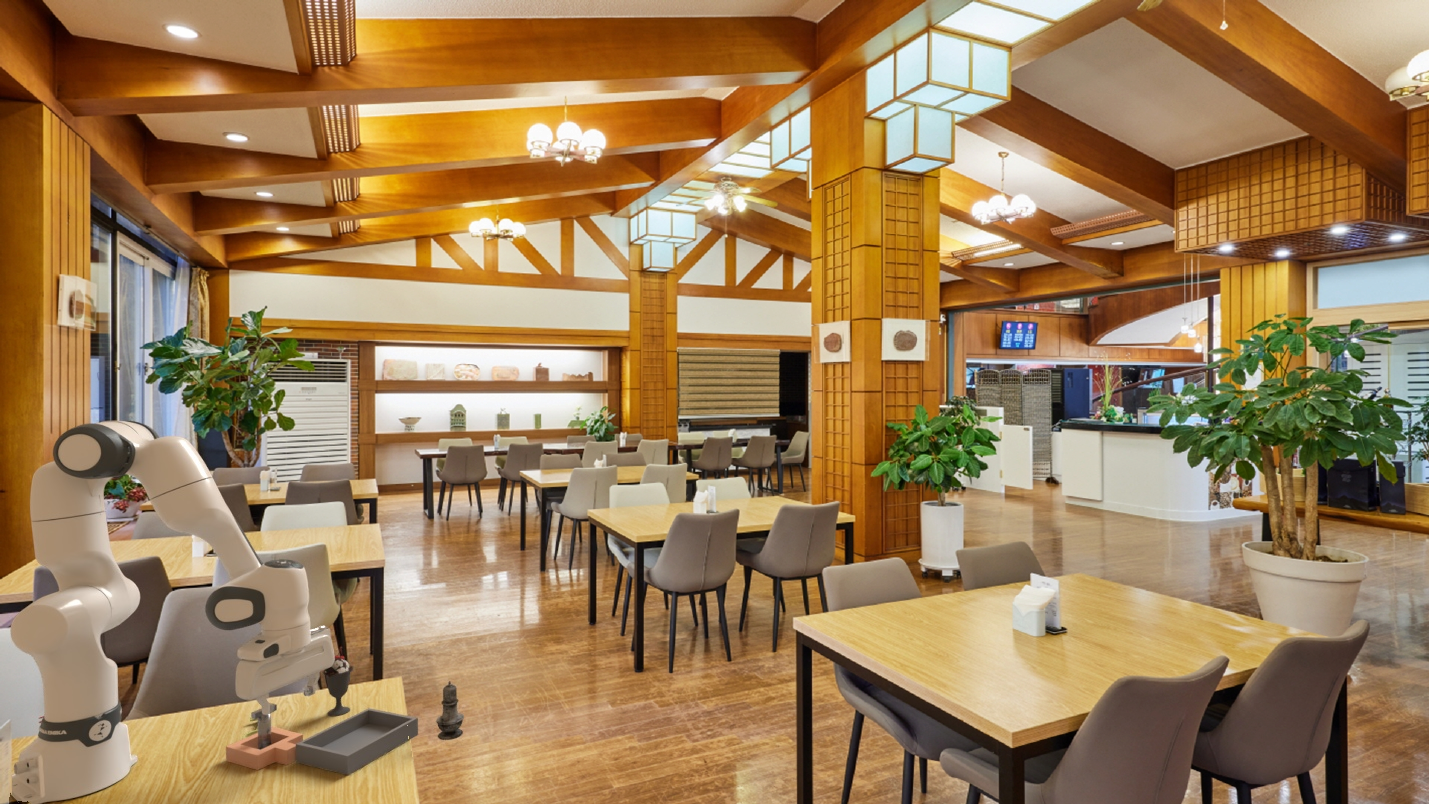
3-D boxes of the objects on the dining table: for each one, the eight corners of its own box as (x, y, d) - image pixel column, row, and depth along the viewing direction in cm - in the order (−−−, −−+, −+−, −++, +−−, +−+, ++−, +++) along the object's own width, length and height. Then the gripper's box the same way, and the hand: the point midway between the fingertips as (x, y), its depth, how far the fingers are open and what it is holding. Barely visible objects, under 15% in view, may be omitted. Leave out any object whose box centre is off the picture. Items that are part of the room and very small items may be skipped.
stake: (250, 757, 153) (249, 712, 153) (271, 747, 158) (270, 703, 158) (257, 759, 152) (257, 714, 152) (279, 749, 157) (278, 704, 157)
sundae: (350, 703, 180) (349, 642, 180) (357, 712, 175) (356, 650, 175) (320, 711, 176) (319, 649, 176) (326, 720, 171) (325, 656, 171)
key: (262, 721, 172) (262, 712, 172) (283, 736, 164) (283, 726, 164) (227, 732, 166) (227, 723, 166) (247, 748, 159) (247, 739, 159)
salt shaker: (455, 741, 160) (454, 687, 159) (430, 739, 161) (430, 685, 161) (469, 729, 165) (468, 676, 165) (445, 727, 166) (445, 675, 166)
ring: (226, 760, 152) (225, 746, 152) (272, 740, 161) (271, 726, 161) (269, 773, 147) (269, 758, 147) (314, 751, 156) (314, 737, 156)
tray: (296, 762, 151) (295, 744, 151) (369, 724, 168) (368, 708, 168) (348, 775, 146) (347, 756, 146) (418, 734, 163) (417, 717, 163)
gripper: (319, 621, 163) (322, 683, 163) (228, 652, 144) (231, 722, 145) (340, 624, 161) (342, 686, 161) (250, 656, 142) (253, 726, 142)
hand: (289, 703), depth 153 cm, fingers open, 8 cm apart
